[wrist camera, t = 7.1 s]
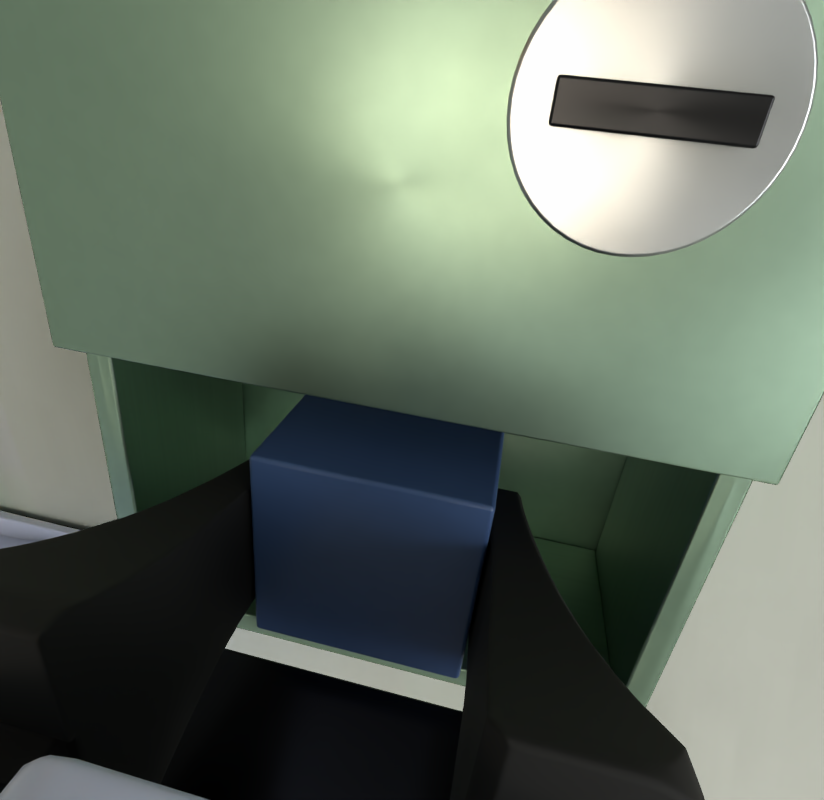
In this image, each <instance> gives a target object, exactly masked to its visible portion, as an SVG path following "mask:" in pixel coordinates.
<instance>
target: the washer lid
mask: <svg viewBox="0 0 824 800" xmlns="http://www.w3.org/2000/svg"><path fill="white" fill-rule="evenodd" d="M462 714H463V712H462V711H458V710H455V709H451V708H447V707H443V706H440V705H436V704H432V703H428V702H424V701H421V700H417V699H413V698H409V697H406V696H402V695H398V694H394V693H391V692H387V691H383V690H379V689H376V688H372V687H368V686H364V685H360V684H357V683H353V682H349V681H345V680H342V679H338V678H334V677H330V676H327V675H323V674H319V673H315V672H311V671H308V670H304V669H300V668H296V667H293V666H289V665H285V664H281V663H278V662H274V661H270V660H266V659H262V658H259V657H255V656H251V655H247V654H244V653H240V652H236V651H232V650H229V649H224V651H223V653H222V655H221V657H220V659H219V661H218V663H217V665H216V666H215V668H214V670H213V672H212V674H211V676H210V678H209V680H208V682H207V684H206V687H205V689H204V691H203V693H202V695H201V697H200V699H199V701H198V703H197V705H196V707H195V709H194V711H193V713H192V716H191V718H190V720H189V722H188V724H187V726H186V728H185V731H184V733H183V735H182V737H181V739H180V742H179V744H178V746H177V748H176V750H175V753H174V755H173V757H172V759H171V761H170V764H169V766H168V768H167V770H166V772H165V775H164V777H163V779H162V782H161V784H160V785H163V786H166V787H170V788H173V789H176V790H179V791H183V792H186V793H189V794H192V795H195V796H199V797H202V798H205V799H208V800H450V795H451V788H452V781H453V775H454V768H455V761H456V755H457V748H458V741H459V734H460V727H461V721H462Z"/></svg>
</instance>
